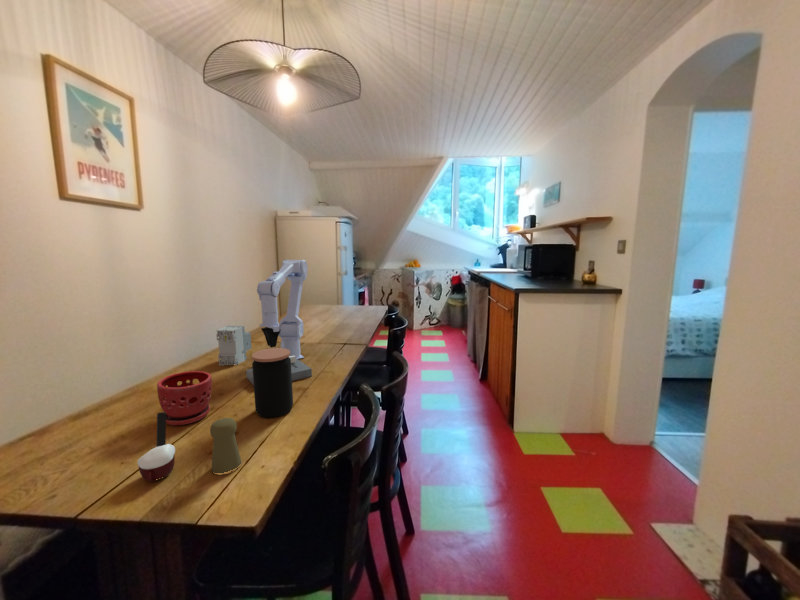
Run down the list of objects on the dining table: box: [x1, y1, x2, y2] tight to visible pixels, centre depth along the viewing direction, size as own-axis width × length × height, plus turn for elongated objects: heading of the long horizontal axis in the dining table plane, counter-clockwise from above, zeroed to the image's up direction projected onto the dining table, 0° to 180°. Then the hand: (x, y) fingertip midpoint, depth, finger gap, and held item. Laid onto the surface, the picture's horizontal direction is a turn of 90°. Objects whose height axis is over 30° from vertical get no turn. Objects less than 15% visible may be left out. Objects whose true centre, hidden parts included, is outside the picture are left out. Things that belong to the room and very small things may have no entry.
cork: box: [209, 417, 242, 473], centre depth 75 cm, size 6×6×11 cm
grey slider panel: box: [245, 359, 313, 387], centre depth 127 cm, size 14×20×3 cm
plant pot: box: [156, 370, 213, 426], centre depth 96 cm, size 13×13×12 cm
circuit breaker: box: [215, 325, 252, 366], centre depth 146 cm, size 8×14×15 cm, turn 174°
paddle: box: [289, 356, 296, 363], centre depth 133 cm, size 2×3×2 cm, turn 128°
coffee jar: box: [251, 347, 294, 419], centre depth 100 cm, size 11×11×18 cm
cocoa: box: [137, 411, 176, 483], centre depth 72 cm, size 10×6×12 cm, turn 174°
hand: (271, 346), depth 132 cm, fingers closed
